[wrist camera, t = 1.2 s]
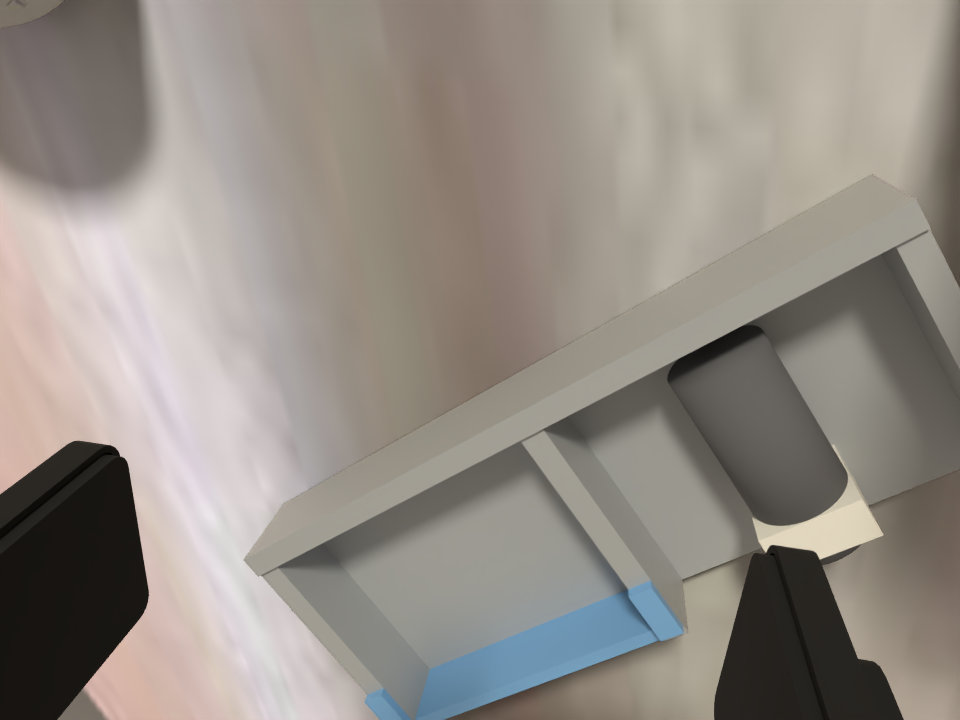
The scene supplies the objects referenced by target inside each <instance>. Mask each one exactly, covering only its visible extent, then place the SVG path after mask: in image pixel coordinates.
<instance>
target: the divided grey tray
mask: <svg viewBox="0 0 960 720" xmlns="http://www.w3.org/2000/svg"><path fill="white" fill-rule="evenodd" d="M930 228H931V227H930V225H929V223H928V221H927V219H926V217H925V215H924V213H923V211H922V209H921V207H920V205H919V203H918V201H917V199H915V198H913V197H912V196H910V195H908V194H906V193H904V192H903V191H901V190H899V189H897V188H896V187H894V186H892V185H890V184H889V183H887V182H885V181H883V180H882V179H880V178H878V177H876V176H875V175H873V174H872V175H870V176H869V177H867V178H865V179H863V180H861V181H860V182H858V183H856V184H854V185H852V186H851V187H849V188H847V189H845V190H844V191H842V192H840V193H838V194H836V195H835V196H833V197H831V198H829V199H827V200H826V201H824V202H822V203H820V204H819V205H817V206H815V207H813V208H811V209H810V210H808V211H806V212H804V213H802V214H801V215H799V216H797V217H795V218H794V219H792V220H790V221H788V222H786V223H785V224H783V225H781V226H779V227H777V228H776V229H774V230H772V231H770V232H769V233H767V234H765V235H763V236H761V237H760V238H758V239H756V240H754V241H752V242H751V243H749V244H747V245H745V246H743V247H742V248H740V249H738V250H736V251H735V252H733V253H731V254H729V255H727V256H726V257H724V258H722V259H720V260H718V261H717V262H715V263H713V264H711V265H710V266H708V267H706V268H704V269H702V270H701V271H699V272H697V273H695V274H693V275H692V276H690V277H688V278H686V279H685V280H683V281H681V282H679V283H677V284H676V285H674V286H672V287H670V288H668V289H667V290H665V291H663V292H661V293H660V294H658V295H656V296H654V297H652V298H651V299H649V300H647V301H645V302H643V303H642V304H640V305H638V306H636V307H635V308H633V309H631V310H629V311H627V312H626V313H624V314H622V315H620V316H618V317H617V318H615V319H613V320H611V321H609V322H608V323H606V324H604V325H602V326H601V327H599V328H597V329H595V330H593V331H592V332H590V333H588V334H586V335H584V336H583V337H581V338H579V339H577V340H576V341H574V342H572V343H570V344H568V345H567V346H565V347H563V348H561V349H559V350H558V351H556V352H554V353H552V354H551V355H549V356H547V357H545V358H543V359H542V360H540V361H538V362H536V363H534V364H533V365H531V366H529V367H527V368H526V369H524V370H522V371H520V372H518V373H517V374H515V375H513V376H511V377H509V378H508V379H506V380H504V381H502V382H500V383H499V384H497V385H495V386H493V387H492V388H490V389H488V390H486V391H484V392H483V393H481V394H479V395H477V396H475V397H474V398H472V399H470V400H468V401H467V402H465V403H463V404H461V405H459V406H458V407H456V408H454V409H452V410H450V411H449V412H447V413H445V414H443V415H442V416H440V417H438V418H436V419H434V420H433V421H431V422H429V423H427V424H425V425H424V426H422V427H420V428H418V429H417V430H415V431H413V432H411V433H409V434H408V435H406V436H404V437H402V438H400V439H399V440H397V441H395V442H393V443H392V444H390V445H388V446H386V447H384V448H383V449H381V450H379V451H377V452H375V453H374V454H372V455H370V456H368V457H366V458H365V459H363V460H361V461H359V462H358V463H356V464H354V465H352V466H350V467H349V468H347V469H345V470H343V471H341V472H340V473H338V474H336V475H334V476H333V477H331V478H329V479H327V480H325V481H324V482H322V483H320V484H318V485H316V486H315V487H313V488H311V489H309V490H308V491H306V492H304V493H302V494H300V495H299V496H297V497H295V498H293V499H291V500H290V501H288V502H286V503H284V504H283V505H282V507H281V508H280V509H279V511H278V512H277V514H276V515H275V516H274V518H273V519H272V521H271V522H270V523H269V525H268V526H267V528H266V529H265V530H264V532H263V533H262V535H261V536H260V537H259V539H258V540H257V542H256V543H255V544H254V546H253V547H252V549H251V550H250V551H249V553H248V554H247V556H246V557H245V558H244V561H245V562H246V564H247V565H248V566H249V567H250V568H251V569H252V570H253V571H254V572H255V574H256V575H257V576H260V575H261V576H262V577H263V578H264V579H265V580H266V581H267V583H268V584H269V585H270V586H271V587H272V588H273V589H274V590H275V592H276V593H277V594H278V595H279V596H280V597H281V598H282V599H283V601H284V602H285V603H286V604H287V605H288V606H289V607H290V608H291V610H292V611H293V612H294V613H295V614H296V615H297V616H298V617H299V619H300V620H301V621H302V622H303V623H304V624H305V625H306V626H307V628H308V629H309V630H310V631H311V632H312V633H313V634H314V635H315V636H316V638H317V639H318V640H319V641H320V642H321V643H322V644H323V645H324V647H325V648H326V649H327V650H328V651H329V652H330V653H331V654H332V656H333V657H334V658H335V659H336V660H337V661H338V662H339V663H340V665H341V666H342V667H343V668H344V669H345V670H346V671H347V672H348V674H349V675H350V676H351V677H352V678H353V679H354V680H355V681H356V683H357V684H358V685H359V686H360V687H361V688H362V689H363V690H364V692H365V693H366V694H367V697H366V700H365V703H366V704H367V705H368V707H369V708H370V709H371V710H372V711H373V712H374V713H375V714H376V716H377V717H378V718H379V719H380V720H445V719H447V718H450V717H453V716H455V715H458V714H461V713H464V712H466V711H469V710H472V709H474V708H477V707H480V706H483V705H485V704H488V703H491V702H493V701H496V700H499V699H501V698H504V697H507V696H510V695H512V694H515V693H518V692H520V691H523V690H526V689H529V688H531V687H534V686H537V685H539V684H542V683H545V682H548V681H550V680H553V679H556V678H558V677H561V676H564V675H567V674H569V673H572V672H575V671H577V670H580V669H583V668H586V667H588V666H591V665H594V664H596V663H599V662H602V661H605V660H607V659H610V658H613V657H615V656H618V655H621V654H624V653H626V652H629V651H632V650H634V649H637V648H640V647H643V646H645V645H648V644H651V643H653V642H656V641H659V640H660V641H664V640H665V641H667V640H670V639H673V638H675V637H678V636H681V635H684V634H686V633H688V626H687V617H686V608H685V599H684V590H683V581H682V579H685V578H688V577H690V576H693V575H695V574H698V573H700V572H703V571H705V570H708V569H710V568H713V567H715V566H718V565H720V564H723V563H725V562H728V561H730V560H733V559H735V558H738V557H740V556H743V555H745V554H748V553H750V552H753V551H756V550H758V549H761V548H762V546H761V544H760V543H759V541H758V538H757V534H756V530H755V527H754V523H753V519H752V515H751V512H750V509H749V507H748V506H747V504H746V503H745V501H744V500H743V498H742V497H741V495H740V493H739V492H738V490H737V489H736V487H735V486H734V484H733V483H732V481H731V479H730V478H729V476H728V475H727V473H726V472H725V470H724V469H723V467H722V465H721V464H720V462H719V461H718V459H717V458H716V456H715V455H714V453H713V452H712V450H711V448H710V447H709V445H708V444H707V442H706V441H705V439H704V438H703V436H702V434H701V433H700V431H699V430H698V428H697V427H696V425H695V424H694V422H693V421H692V419H691V417H690V416H689V414H688V413H687V411H686V410H685V408H684V407H683V405H682V403H681V402H680V400H679V399H678V397H677V396H676V394H675V393H674V391H673V389H672V388H671V386H670V385H669V383H668V381H667V377H668V373H669V371H670V369H671V367H672V366H673V365H674V363H675V362H676V361H677V360H678V359H679V358H681V357H683V356H685V355H687V354H689V353H691V352H693V351H695V350H696V349H698V348H700V347H702V346H704V345H706V344H708V343H710V342H712V341H714V340H716V339H718V338H720V337H722V336H723V335H725V334H727V333H729V332H731V331H733V330H735V329H737V328H739V327H741V326H743V325H755V326H758V327H760V328H762V330H763V331H764V333H765V334H766V336H767V338H768V340H769V341H770V343H771V345H772V346H773V348H774V350H775V351H776V353H777V355H778V356H779V358H780V360H781V361H782V363H783V365H784V367H785V368H786V370H787V372H788V373H789V375H790V377H791V378H792V380H793V382H794V383H795V385H796V387H797V388H798V390H799V392H800V393H801V395H802V397H803V399H804V400H805V402H806V404H807V405H808V407H809V409H810V410H811V412H812V414H813V415H814V417H815V419H816V420H817V422H818V424H819V426H820V427H821V429H822V431H823V432H824V434H825V436H826V437H827V439H828V441H829V442H830V444H831V445H835V447H836V448H837V450H838V452H839V454H840V455H841V457H842V459H843V460H844V462H845V464H846V465H847V467H848V469H849V470H850V472H851V474H852V475H853V477H854V479H855V481H856V483H857V485H858V487H859V489H860V491H861V493H862V495H863V496H864V498H865V500H866V502H867V504H868V506H869V505H871V504H874V503H876V502H879V501H881V500H884V499H886V498H889V497H891V496H894V495H897V494H899V493H902V492H904V491H907V490H909V489H912V488H914V487H917V486H919V485H922V484H924V483H927V482H929V481H932V480H934V479H937V478H939V477H942V476H944V475H947V474H949V473H952V472H954V471H957V470H959V469H960V288H959V286H958V284H957V282H956V280H955V278H954V276H953V274H952V272H951V270H950V268H949V266H948V264H947V262H946V260H945V258H944V256H943V254H942V252H941V250H940V248H939V246H938V244H937V242H936V240H935V238H934V236H933V234H932V232H931V230H930Z"/></svg>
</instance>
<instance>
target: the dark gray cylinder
mask: <svg viewBox="0 0 960 720" xmlns="http://www.w3.org/2000/svg"><path fill="white" fill-rule="evenodd" d="M667 381H668V383H669V385H670V386H671V388H672V389H673V391H674V393H675V394H676V396H677V397H678V399H679V400H680V402H681V403H682V405H683V407H684V408H685V410H686V411H687V413H688V414H689V416H690V417H691V419H692V421H693V422H694V424H695V425H696V427H697V428H698V430H699V431H700V433H701V434H702V436H703V438H704V439H705V441H706V442H707V444H708V445H709V447H710V448H711V450H712V452H713V453H714V455H715V456H716V458H717V459H718V461H719V462H720V464H721V465H722V467H723V469H724V470H725V472H726V473H727V475H728V476H729V478H730V479H731V481H732V483H733V484H734V486H735V487H736V489H737V490H738V492H739V493H740V495H741V497H742V498H743V500H744V501H745V503H746V504H747V506H748V507H749V509H750V512H751V515H752V519H753V523H754V527H755V530H756V534H757V538H758V541H759V543H760V544H761V546H762V548H763V549H764V551H765V552H767V550H768V548H769V546H771V545H778V546H784V547H791V548H798V549H804V550H811V551H814V552H816V553H817V555H818V557H819V559H820V562H821V564H822V565H825V564H829V563H832V562H835V561H837V560H839V559H842V558H843V557H845V556H847V555H849V554H850V553H852V552H853V551H854V550H856V549H857V548H858V547H859V546H860V545H861V544H862V543H865V542H867V541H870V540H873V539H875V538H878V537H881V536H883V533H882V531H881V529H880V527H879V525H878V523H877V521H876V519H875V518H874V516H873V514H872V512H871V510H870V508H869V506H868V504H867V502H866V500H865V498H864V496H863V495H862V493H861V491H860V489H859V487H858V485H857V483H856V481H855V479H854V477H853V475H852V474H851V472H850V470H849V469H848V467H847V465H846V464H845V462H844V460H843V459H842V457H841V455H840V454H839V452H838V450H837V448H836V447H835V445H831V444H830V442H829V441H828V439H827V437H826V436H825V434H824V432H823V431H822V429H821V427H820V426H819V424H818V422H817V420H816V419H815V417H814V415H813V414H812V412H811V410H810V409H809V407H808V405H807V404H806V402H805V400H804V399H803V397H802V395H801V393H800V392H799V390H798V388H797V387H796V385H795V383H794V382H793V380H792V378H791V377H790V375H789V373H788V372H787V370H786V368H785V367H784V365H783V363H782V361H781V360H780V358H779V356H778V355H777V353H776V351H775V350H774V348H773V346H772V345H771V343H770V341H769V340H768V338H767V336H766V334H765V333H764V331H763V330H762V328H760V327H758V326H755V325H743V326H741V327H739V328H737V329H735V330H733V331H731V332H729V333H727V334H725V335H723V336H722V337H720V338H718V339H716V340H714V341H712V342H710V343H708V344H706V345H704V346H702V347H700V348H698V349H696V350H695V351H693V352H691V353H689V354H687V355H685V356H683V357H681V358H679V359H678V360H677V361H676V362H675V363H674V365H673V366H672V367H671V369H670V371H669V373H668V377H667Z"/></svg>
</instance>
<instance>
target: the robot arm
mask: <svg viewBox="0 0 960 720" xmlns="http://www.w3.org/2000/svg"><path fill="white" fill-rule="evenodd" d="M148 597H149V590H148V584H147V578H146V572H145V566H144V560H143V553H142V547H141V541H140V535H139V529H138V523H137V516H136V510H135V504H134V498H133V492H132V486H131V479H130V473H129V467H128V463H127V461H126V460H125V458H123V457H120V454H119V452H118V450H117V449H116V448H115V447H113V446H111V445H104V444H97V443H91V442H84V441H73V442H71V443H69V444H67V445H66V446H65V447H63V448H62V449H61V450H59V451H58V452H57V453H55V454H54V455H53V456H51V457H50V458H49V459H47V460H46V461H45V462H43V463H42V464H41V465H39V466H38V467H37V468H35V469H34V470H33V471H31V472H30V473H28V474H27V475H26V476H24V477H23V478H22V479H20V480H19V481H18V482H16V483H15V484H14V485H12V486H11V487H10V488H8V489H7V490H6V491H4V492H3V493H2V494H0V720H57V719H58V718H59V717H60V716H61V714H62V713H63V712H64V710H65V709H66V708H67V707H68V706H69V705H70V703H71V702H72V701H73V700H74V698H75V697H76V696H77V695H78V694H79V692H80V691H81V690H82V689H83V687H84V686H85V685H86V684H87V683H88V681H89V680H90V679H91V678H92V676H93V675H94V674H95V673H96V672H97V670H98V669H99V668H100V667H101V665H102V664H103V663H104V662H105V661H106V659H107V658H108V657H109V656H110V654H111V653H112V652H113V651H114V650H115V648H116V647H117V646H118V645H119V643H120V642H121V641H122V640H123V639H124V637H125V636H126V635H127V634H128V632H129V631H130V630H131V629H132V628H133V626H134V625H135V624H136V623H137V621H138V620H139V619H140V618H141V616H142V615H143V613H144V611H145V609H146V606H147V603H148ZM714 719H715V720H904V719H903V717H902V714H901V712H900V710H899V707H898V705H897V702H896V700H895V698H894V695H893V693H892V690H891V688H890V686H889V683H888V681H887V679H886V677H885V675H884V673H883V671H882V669H881V668H880V666H878V665H877V664H876V663H875V662H873V661H867V660H861V659H858V658H857V655H856V653H855V650H854V647H853V645H852V642H851V640H850V637H849V634H848V632H847V629H846V627H845V624H844V621H843V619H842V616H841V614H840V611H839V608H838V606H837V603H836V601H835V598H834V595H833V593H832V590H831V588H830V585H829V582H828V580H827V577H826V575H825V572H824V569H823V567H822V564H821V562H820V559H819V557H818V555H817V553H816V552H814V551H811V550H804V549H798V548H791V547H784V546H778V545H771V546H769V548H768V550H767V552H766V554H759V553H755V554H754V555H753V556H752V559H751V562H750V565H749V569H748V573H747V577H746V581H745V584H744V588H743V592H742V596H741V599H740V603H739V607H738V611H737V615H736V618H735V622H734V626H733V630H732V633H731V637H730V641H729V645H728V649H727V652H726V656H725V660H724V664H723V667H722V671H721V675H720V679H719V683H718V686H717V690H716V695H715V703H714Z"/></svg>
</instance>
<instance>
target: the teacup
mask: <svg viewBox="0 0 960 720" xmlns="http://www.w3.org/2000/svg"><path fill="white" fill-rule="evenodd" d="M63 1H64V0H0V28H4V27H11V26H16V25H20V24H24V23H27V22H30V21H33V20H36V19H38V18H40V17H42V16H44V15H46V14H47V13H49V12H50V11H52V10H53V9H55V8H56V7H57V6H59V5H60V4H61V3H62V2H63Z"/></svg>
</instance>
